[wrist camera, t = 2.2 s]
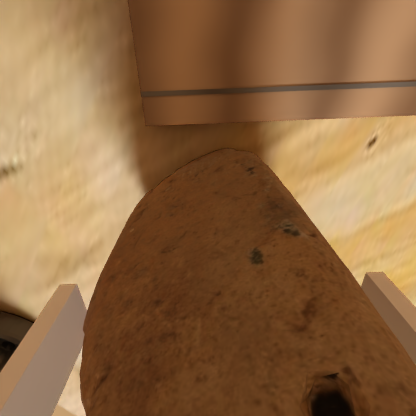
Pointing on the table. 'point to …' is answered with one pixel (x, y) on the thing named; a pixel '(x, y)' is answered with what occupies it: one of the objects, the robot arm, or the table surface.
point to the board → (274, 59)
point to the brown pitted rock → (235, 309)
